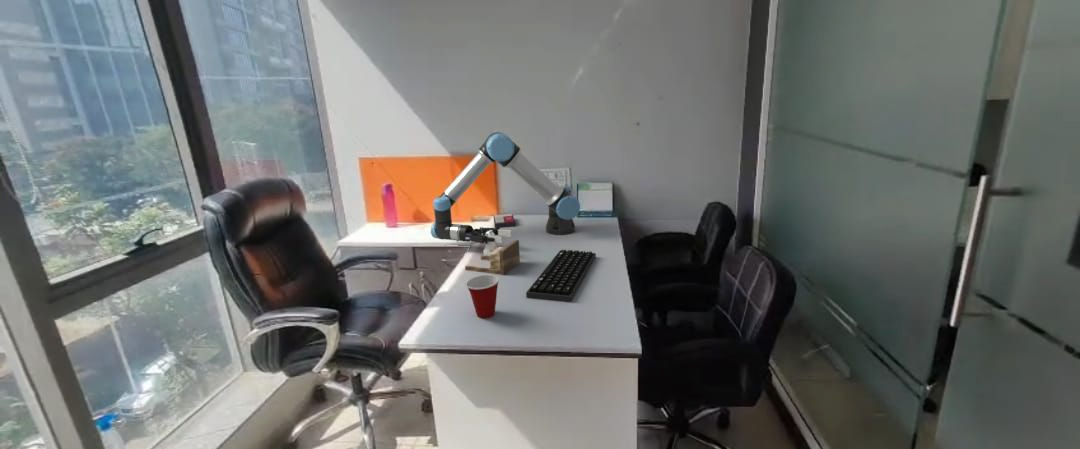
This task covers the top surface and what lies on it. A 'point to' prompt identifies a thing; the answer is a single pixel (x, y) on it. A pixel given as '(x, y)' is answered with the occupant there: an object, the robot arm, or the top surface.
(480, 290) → the plastic cup
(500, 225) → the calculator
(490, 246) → the white creature statuette
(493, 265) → the offcut stack
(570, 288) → the computer keyboard
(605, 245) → the top surface
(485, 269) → the walnut rack
